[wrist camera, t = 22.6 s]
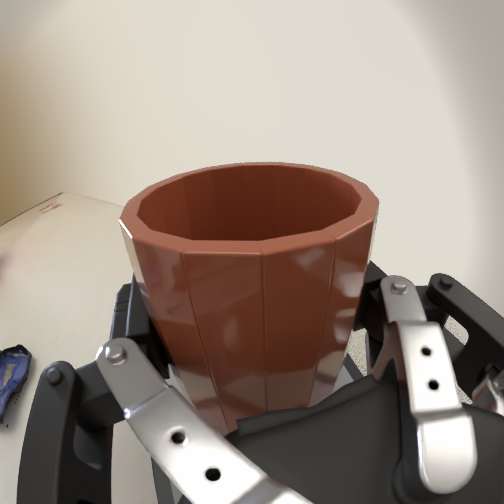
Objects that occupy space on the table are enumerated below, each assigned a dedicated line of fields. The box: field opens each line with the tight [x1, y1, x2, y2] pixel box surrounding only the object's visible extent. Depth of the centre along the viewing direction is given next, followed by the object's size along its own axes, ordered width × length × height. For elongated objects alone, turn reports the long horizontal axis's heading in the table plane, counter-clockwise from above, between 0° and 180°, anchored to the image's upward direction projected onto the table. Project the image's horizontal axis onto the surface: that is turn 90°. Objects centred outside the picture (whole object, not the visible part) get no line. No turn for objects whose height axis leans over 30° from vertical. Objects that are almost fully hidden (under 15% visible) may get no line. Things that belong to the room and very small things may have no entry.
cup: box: [119, 162, 379, 437], centre depth 9 cm, size 6×6×10 cm
